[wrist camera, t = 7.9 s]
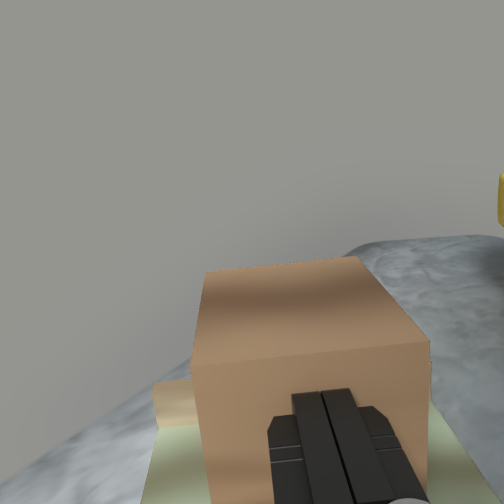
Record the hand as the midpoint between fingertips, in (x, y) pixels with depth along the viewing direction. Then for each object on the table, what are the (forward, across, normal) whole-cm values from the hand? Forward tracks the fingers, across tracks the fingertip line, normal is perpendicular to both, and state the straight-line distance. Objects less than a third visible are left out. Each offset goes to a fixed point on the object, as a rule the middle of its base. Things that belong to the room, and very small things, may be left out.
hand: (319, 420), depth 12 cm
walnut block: (+4, 0, +6) cm, 7 cm away
